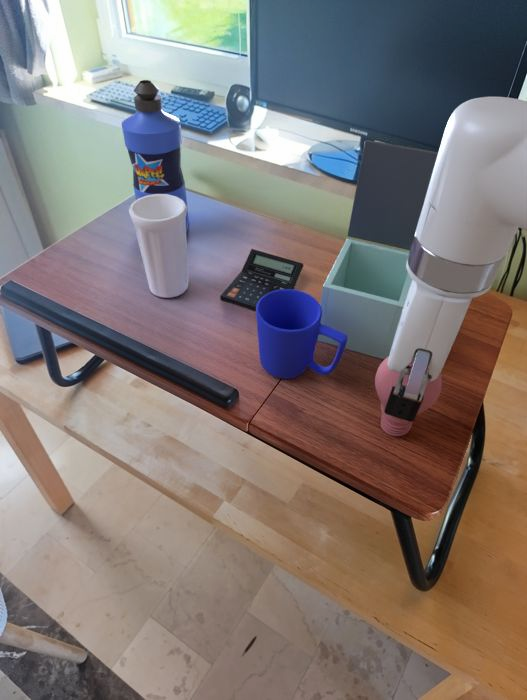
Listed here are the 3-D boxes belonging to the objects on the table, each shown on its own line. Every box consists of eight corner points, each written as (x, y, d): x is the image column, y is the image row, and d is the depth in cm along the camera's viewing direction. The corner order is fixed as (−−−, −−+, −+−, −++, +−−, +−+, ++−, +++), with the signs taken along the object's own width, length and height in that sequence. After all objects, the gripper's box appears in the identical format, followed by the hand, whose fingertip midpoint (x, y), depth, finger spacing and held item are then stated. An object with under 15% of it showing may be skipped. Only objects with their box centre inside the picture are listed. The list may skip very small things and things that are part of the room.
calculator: (220, 299, 75) (219, 284, 73) (252, 262, 83) (252, 247, 81) (274, 317, 73) (275, 302, 71) (302, 276, 80) (303, 262, 78)
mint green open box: (388, 361, 67) (404, 307, 60) (315, 340, 69) (322, 286, 62) (403, 307, 75) (420, 254, 68) (338, 290, 78) (347, 237, 71)
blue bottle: (179, 243, 86) (162, 94, 69) (131, 236, 88) (103, 87, 70) (196, 218, 93) (184, 76, 75) (151, 211, 94) (130, 70, 76)
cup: (167, 267, 81) (156, 188, 71) (204, 284, 78) (198, 204, 68) (133, 290, 76) (116, 209, 66) (171, 310, 73) (159, 228, 63)
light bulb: (351, 415, 60) (369, 347, 51) (397, 397, 62) (421, 330, 54) (384, 459, 55) (409, 394, 47) (432, 439, 58) (465, 373, 49)
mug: (322, 408, 61) (333, 353, 53) (243, 370, 65) (243, 315, 58) (349, 368, 66) (361, 313, 59) (273, 335, 70) (277, 281, 63)
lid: (450, 156, 59) (454, 143, 62) (364, 141, 61) (373, 129, 65) (420, 253, 68) (425, 236, 71) (347, 236, 70) (355, 221, 74)
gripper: (424, 204, 48) (387, 332, 60) (391, 306, 36) (354, 438, 49) (502, 220, 46) (447, 349, 59) (494, 333, 35) (427, 463, 47)
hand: (405, 389), depth 54 cm, fingers closed on light bulb, 7 cm apart
